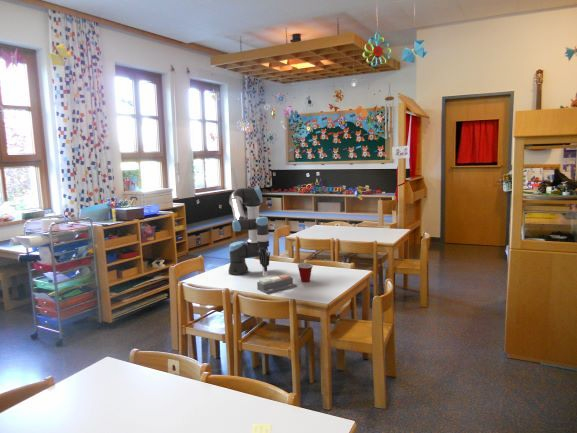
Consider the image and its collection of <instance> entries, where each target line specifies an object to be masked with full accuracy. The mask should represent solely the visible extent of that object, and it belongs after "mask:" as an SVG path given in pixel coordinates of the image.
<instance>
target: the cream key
mask: <svg viewBox="0 0 577 433" xmlns="http://www.w3.org/2000/svg"><path fill="white" fill-rule="evenodd" d="M268 279H270V280H272V282H277V281H281V278H279V277H278V276H273V277H269V278H268Z"/></svg>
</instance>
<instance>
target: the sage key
mask: <svg viewBox="0 0 577 433" xmlns="http://www.w3.org/2000/svg"><path fill="white" fill-rule="evenodd" d="M258 282H259V283H262V284H268V283H272V280H270V279H269V278H262V279H259V280H258Z"/></svg>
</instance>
